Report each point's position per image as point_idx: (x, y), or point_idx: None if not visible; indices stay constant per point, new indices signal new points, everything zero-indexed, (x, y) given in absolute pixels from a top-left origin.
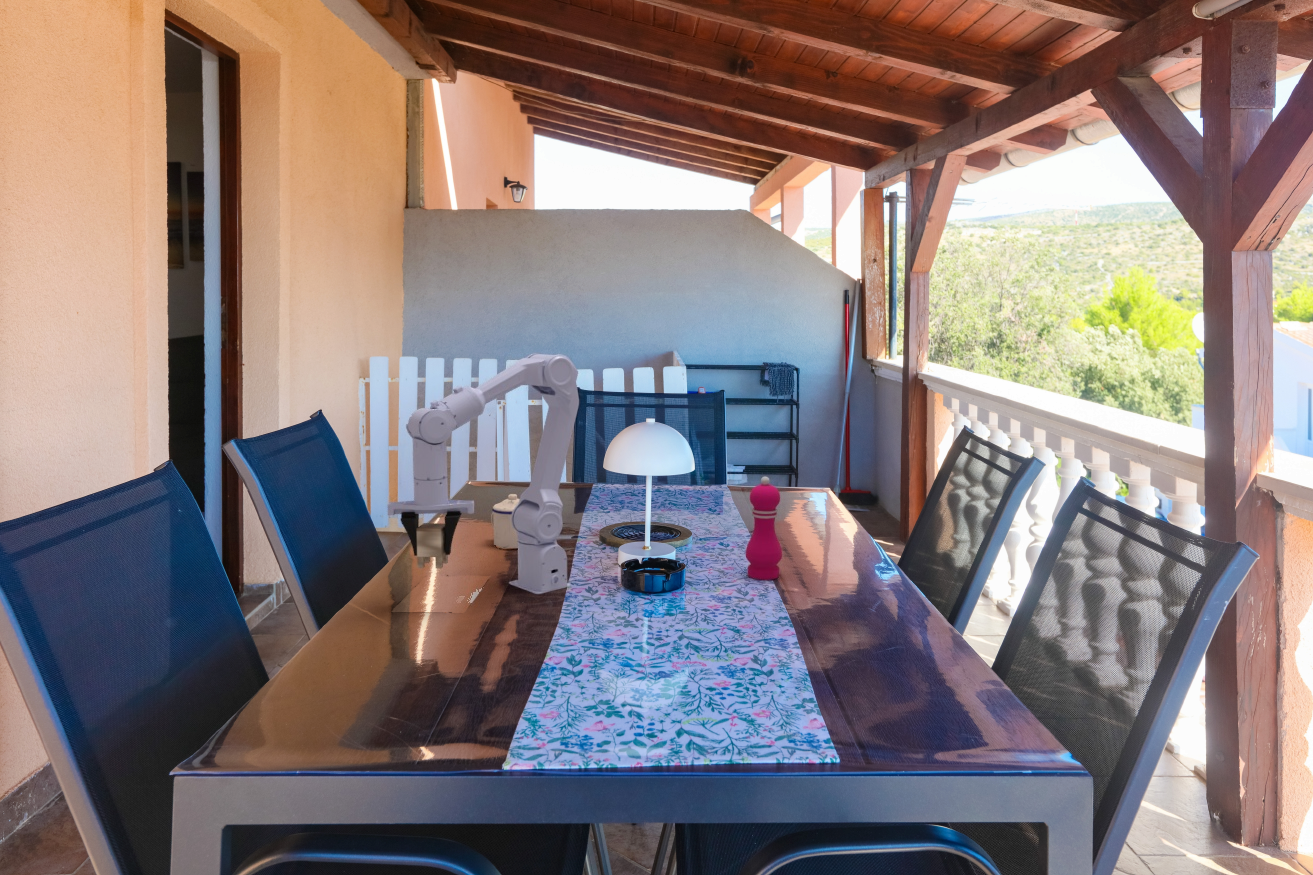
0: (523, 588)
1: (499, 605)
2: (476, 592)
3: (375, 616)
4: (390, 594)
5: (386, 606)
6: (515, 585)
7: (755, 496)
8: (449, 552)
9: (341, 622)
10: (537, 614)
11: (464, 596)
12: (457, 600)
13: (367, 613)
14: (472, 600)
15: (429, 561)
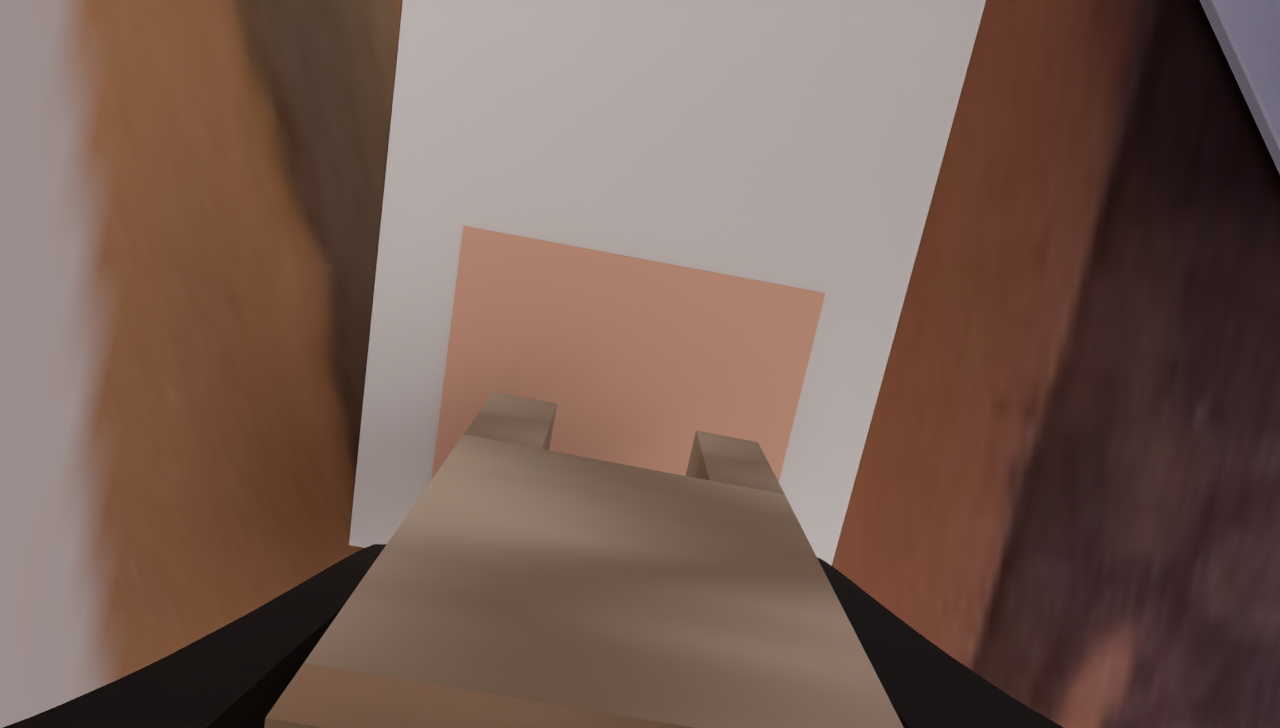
0: (1276, 151)
1: (1039, 458)
2: (910, 193)
3: (281, 558)
4: (256, 88)
5: (300, 375)
6: (1232, 52)
7: None
8: None
9: (111, 632)
10: (1238, 649)
11: (820, 294)
12: (772, 378)
13: (215, 497)
14: (874, 382)
15: (551, 433)
